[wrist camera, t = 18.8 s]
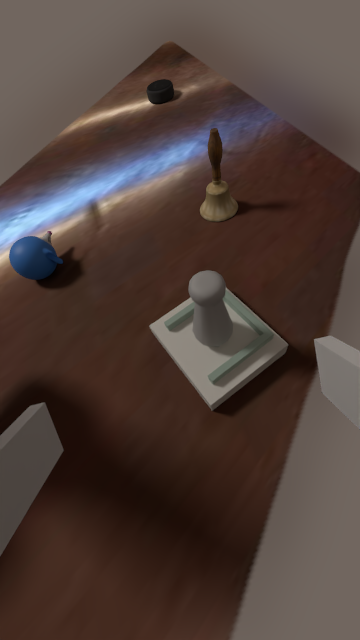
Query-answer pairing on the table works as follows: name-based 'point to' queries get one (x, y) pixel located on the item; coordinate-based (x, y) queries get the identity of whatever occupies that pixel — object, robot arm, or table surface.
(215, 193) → the hand bell
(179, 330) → the dock
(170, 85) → the smart speaker
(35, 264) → the blue rounded piece
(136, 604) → the table surface
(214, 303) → the salt shaker
